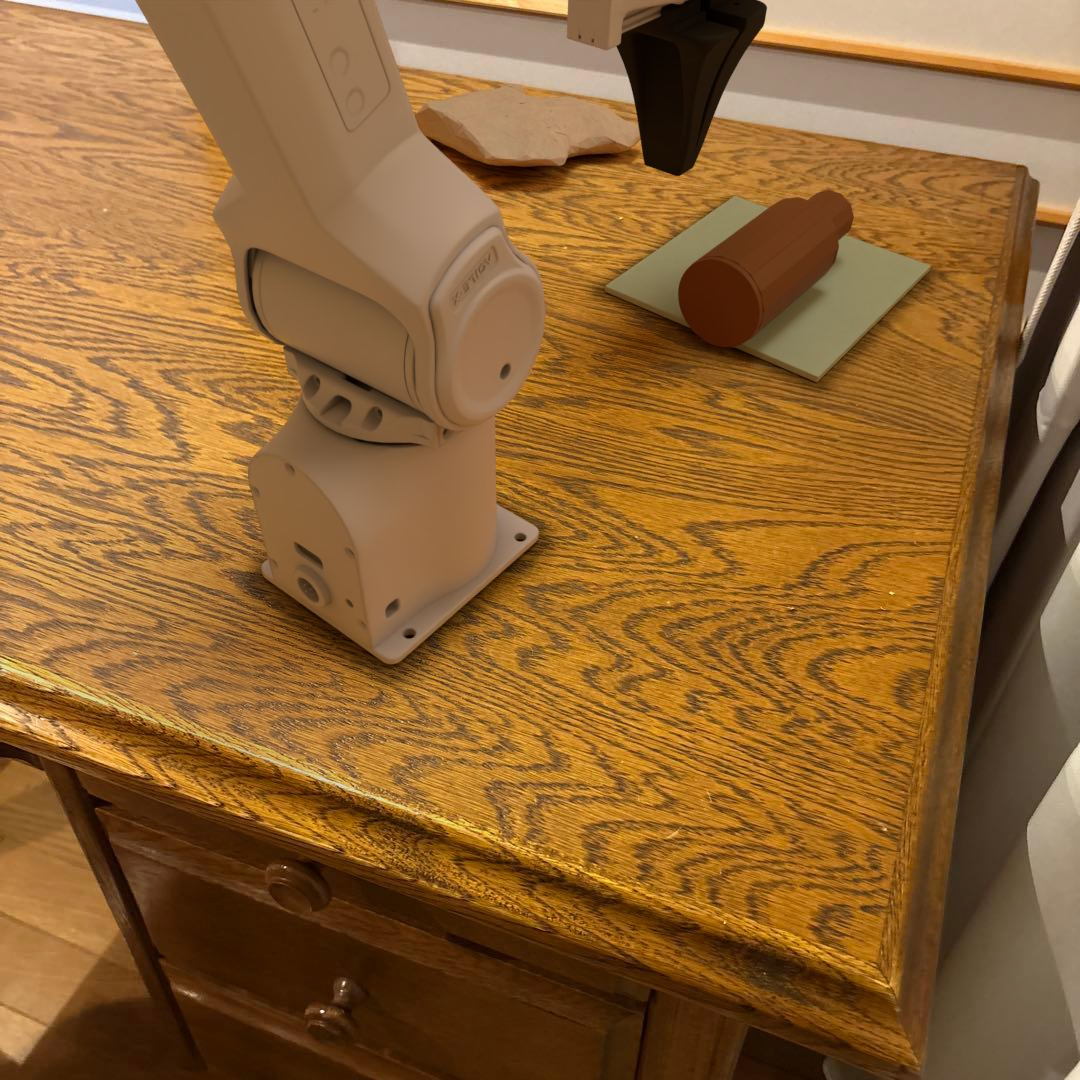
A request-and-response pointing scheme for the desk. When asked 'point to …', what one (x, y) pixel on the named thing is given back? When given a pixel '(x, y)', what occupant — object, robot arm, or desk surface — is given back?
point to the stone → (524, 127)
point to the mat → (811, 320)
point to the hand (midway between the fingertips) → (668, 166)
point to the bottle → (763, 267)
